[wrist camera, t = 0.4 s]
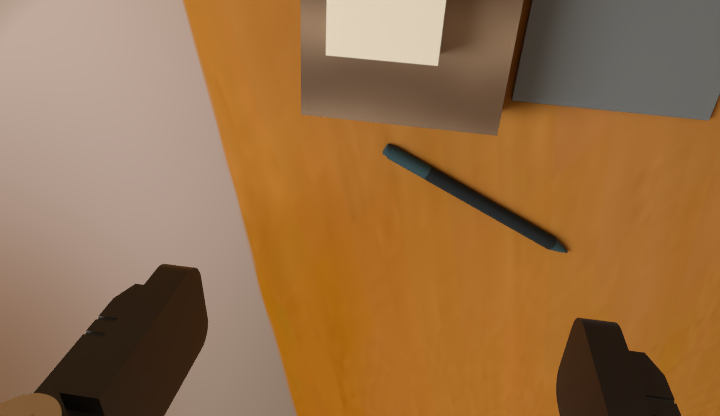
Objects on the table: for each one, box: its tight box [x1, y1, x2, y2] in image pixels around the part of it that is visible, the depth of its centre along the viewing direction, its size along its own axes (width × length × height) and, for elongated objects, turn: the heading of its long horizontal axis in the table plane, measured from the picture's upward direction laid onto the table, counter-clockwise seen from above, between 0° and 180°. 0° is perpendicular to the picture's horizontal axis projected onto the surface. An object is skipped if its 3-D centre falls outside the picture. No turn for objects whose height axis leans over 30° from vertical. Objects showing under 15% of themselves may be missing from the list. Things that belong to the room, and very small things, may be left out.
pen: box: [383, 144, 568, 253], centre depth 39 cm, size 1×16×1 cm, turn 62°
